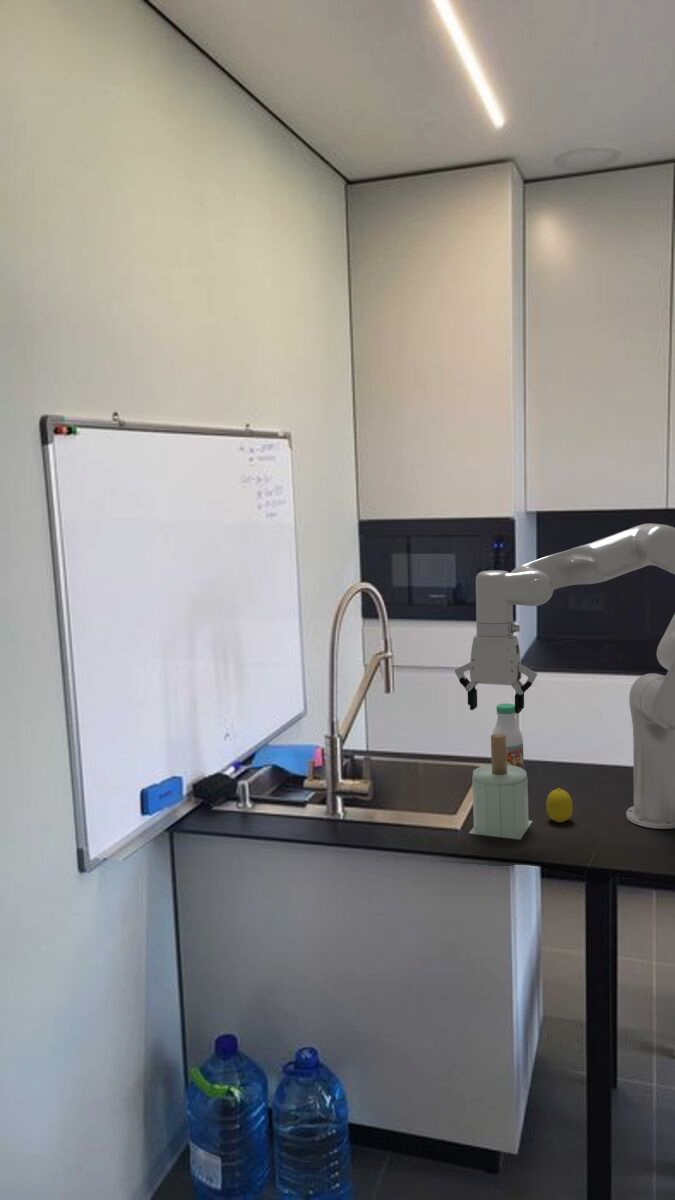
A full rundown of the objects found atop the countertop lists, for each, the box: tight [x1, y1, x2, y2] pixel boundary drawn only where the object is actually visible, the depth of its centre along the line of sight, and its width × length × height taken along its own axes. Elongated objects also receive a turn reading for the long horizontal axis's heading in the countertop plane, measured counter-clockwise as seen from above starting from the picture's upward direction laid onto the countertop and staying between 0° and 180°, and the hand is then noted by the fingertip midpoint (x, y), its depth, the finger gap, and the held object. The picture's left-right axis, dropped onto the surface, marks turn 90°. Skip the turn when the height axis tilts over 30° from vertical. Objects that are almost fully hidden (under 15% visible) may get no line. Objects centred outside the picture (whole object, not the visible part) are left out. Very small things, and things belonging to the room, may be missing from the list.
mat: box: [468, 820, 533, 840], centre depth 194 cm, size 11×11×1 cm
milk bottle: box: [491, 703, 525, 770], centre depth 222 cm, size 8×8×20 cm
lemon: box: [545, 787, 574, 823], centre depth 196 cm, size 6×6×8 cm
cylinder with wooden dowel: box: [471, 734, 530, 838], centre depth 193 cm, size 11×11×20 cm
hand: (495, 710), depth 191 cm, fingers open, 9 cm apart
